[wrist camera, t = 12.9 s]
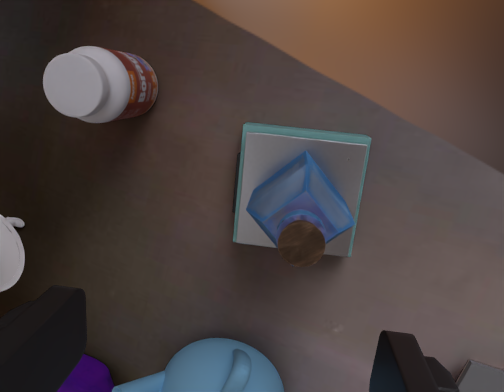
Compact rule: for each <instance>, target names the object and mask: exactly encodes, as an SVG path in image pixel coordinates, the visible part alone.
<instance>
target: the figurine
mask: <svg viewBox="0 0 504 392" xmlns="http://www.w3.org/2000/svg"><path fill="white" fill-rule="evenodd" d="M24 225H25V224H24V222H23V220H21V219H20V218H15V217H7V218H4V217H3V216H2V215H0V292H1V291H4V290H6V289H8V288H10V287H12V286H13V285H14V284H15V283H16V282H17V281H18V279H19V278H20V276H21V274H22V272H23V269H24V262H25V253H24V248H23V244H22V242H21V239H20V236H19V235H18V233H17V232H16V230H15V229H14V227H13V226H16V227H23V226H24ZM6 226H7V227H8V228H7V227H6ZM10 231H11V232H10ZM16 242H17V243H16ZM17 245H18V246H17ZM18 248H19V249H18ZM19 254H20V260H19Z"/></svg>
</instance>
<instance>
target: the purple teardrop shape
mask: <svg viewBox="0 0 504 392" xmlns="http://www.w3.org/2000/svg"><path fill="white" fill-rule="evenodd" d="M114 387H115V386H114V384H113V381H112V378H111V374H110V371H109V369H108V368H107V367H106V365H105V364H103V363H102V362H100V361H99V360H97V359H95V358H93V357H90V356H88V355H85V354H83V356H82V358H81V360H80V361H79V363H78V364H77V365H76V367H75V368H74V369H73V371H72V372H71V373H70V375H69V376H68V377H67V379H66V380H65V381H64V383H63V384H62V385H61V387H60V388H59V389H58V391H57V392H112V390H113V388H114Z"/></svg>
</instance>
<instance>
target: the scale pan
mask: <svg viewBox="0 0 504 392" xmlns="http://www.w3.org/2000/svg"><path fill="white" fill-rule="evenodd" d="M305 150H306V151H307V152H308V154H309V155H310V156H311V157H312V159H313V160H314V161H315V163H316V164H317V165H318V167H319V168H320V169H321V170H322V172H323V173H324V174H325V176H326V177H327V178H328V179H329V181H330V182H331V183H332V185H333V186H334V187H335V189H336V190H337V191H338V192H339V194H340V195H341V196H342V198H343V199H344V200H345V202H346V203H347V206H348V208H349V210H350V213H351V215H352V217H353V220H355V214H356V208H357V203H358V197H359V191H360V186H361V180H362V174H363V169H364V163H365V157H366V152H367V145H366V144H359V143H350V142H340V141H331V140H322V139H313V138H304V137H295V136H286V135H277V134H267V133H258V132H249V131H247V132H246V141H245V152H244V163H243V174H242V185H241V196H240V207H239V218H238V228H237V239H236V243H242V244H250V245H257V246H265V247H273V248H277V247H276V246H275V245H274V243H273V242H272V241H271V240H270V239H269V237H268V236H267V235H266V234H265V232H264V231H263V230H262V229H261V228H260V226H259V225H258V224H257V223H256V222H255V220H254V219H253V218H252V217H251V215H250V214H249V213H248V212H247V211H246V208H247V205H248V202H249V200H250V197H251V194H252V192H253V190H254V189H255V188H257V187H258V186H259V185H260V184H262V183H263V182H264V181H266V180H267V179H268V178H270V177H271V176H272V175H274V174H275V173H276V172H278V171H279V170H280V169H282V168H283V167H284V166H286V165H287V164H288V163H290V162H291V161H292V160H293V159H295V158H296V157H297V156H299V155H300V154H301V153H303V152H304V151H305ZM352 231H353V226H352V227H351V228H349V229H348V230H346V231H345V232H343V233H342V234H340V235H339V236H337V237H336V238H334V239H333V240H332V241H330V242H329V243H327V244H326V246H325V252H324V254H327V255H334V256H342V257H348V254H349V248H350V242H351V237H352Z"/></svg>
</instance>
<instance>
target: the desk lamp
mask: <svg viewBox="0 0 504 392" xmlns="http://www.w3.org/2000/svg"><path fill="white" fill-rule="evenodd" d="M456 385H457V387H458V389H459V390H460V391H459V392H504V371H503V370H500V369H497V368H494V367H491V366H488V365H485V364H482V363H479V362H476V361H472V360H468V362H467V363H466V365H465V367H464V369H463V371H462V372H461V374H460V376H459V378H458V379H457V381H456Z"/></svg>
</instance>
